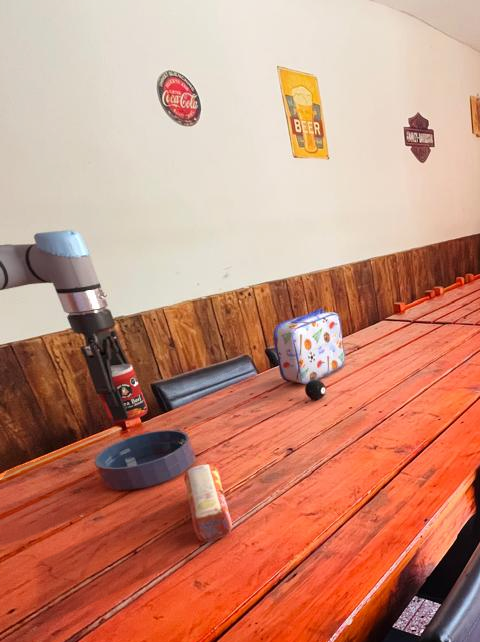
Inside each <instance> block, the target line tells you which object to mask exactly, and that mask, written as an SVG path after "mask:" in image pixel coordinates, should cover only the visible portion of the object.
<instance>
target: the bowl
mask: <svg viewBox="0 0 480 642" xmlns="http://www.w3.org/2000/svg"><path fill="white" fill-rule="evenodd" d="M196 459H197V457H196V454H195V451H194V448H193V445H192V442H191V440H190V436H189V434H188V433H186V432H185V431H182V430H177V429H176V430H175V429H166V430H155V431H149V432H144V433H140V434H137V435H133V436H130V437H127V438H124V439H122V440H119V441H117V442H115V443H113V444H111V445H109V446H107V447H105V448H104V449H103V450H101V451H100V452H99V453H98V454H97V455H96V456H95V457H94V465H95V467H96V470H97V472H98V474H99V476H100V478H101V481H102V483H103V484H104V486H105V487H106V488H108V489H112V490H117V491H118V490H119V491H131V490H140V489H145V488H149V487H150V488H151V487H153V486H157V485H159V484H163V483H166V482H168V481H170V480H172V479H173V478H176V477H178V476H180V475H181V474H183V473H184V472H186V471H187V470H189V469H190V467H191V466H192V465H193V464H194V463H195V461H196Z"/></svg>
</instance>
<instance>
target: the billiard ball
mask: <svg viewBox="0 0 480 642" xmlns="http://www.w3.org/2000/svg"><path fill="white" fill-rule="evenodd" d="M304 393H305V395H306V396H307V397H308V398H309V399H311V400H321V399H322V398H324V397H325V395H326V393H327V387H326V385H325V383H324V382H323V381H322V380H319V379H316V380H312V381H310V382H308V383H306V384H305V386H304Z"/></svg>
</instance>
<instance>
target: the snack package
mask: <svg viewBox="0 0 480 642" xmlns="http://www.w3.org/2000/svg"><path fill="white" fill-rule="evenodd" d="M183 478H184V479H183V481H184V484H185V486H186V494H187V499H188V503H189V509H190V513H191V519H192V526H193V529H194V532H195V535H196V537H197V539H198V540H199V541H200V542H203V543H209V542H213V541H214V540H215V541H216V540H218V539H220V538H223V537H225V536H227V535H229V533H230V532H231V531H232V528H233V522H232V519H231V513H230V511H229V508H228V504H227V501H226V497H225V492H224V489H223V486H222V482H221V476H220V472H219V469H218V468H217V467H216V466H215V465H213V464H208V463H207V464H201V465H197V466H193V467H191V468H189V469H187V470H186V471H185V474H184V477H183Z"/></svg>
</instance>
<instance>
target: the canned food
mask: <svg viewBox="0 0 480 642" xmlns="http://www.w3.org/2000/svg"><path fill="white" fill-rule="evenodd" d="M111 371H112V377H113V380H114V385H115V389H116V390H118V391H119V393H120V396H121V398H122V401H123V403H124V406H125V408H126V411H127V413H128V416H129V418H128V419H123V420H116V421H114V419H113V417H112V414H111V412H110V410H109V407H108V405H107V402H106V400H105V397H104V395H103V394H98V395H99V397H100V400H101V402H102V404H103V407H104V409H105V412H106V414H107V416H108V418H109V419H110V421H112V422H116V423H122V422H124V423H125V422H130V421H133V420H136V419H139V418H142V417H143V416H145V415H146V414H147V412H148V405H147V403H146V400H145V397H144V394H143V392H142V391H143V390H142V389H141V387H140V383H139V381H138V377H137V376H136V372H135V370H134V368H133V365H132V364H130V363H129V364H121V365H114V366H111Z"/></svg>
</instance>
